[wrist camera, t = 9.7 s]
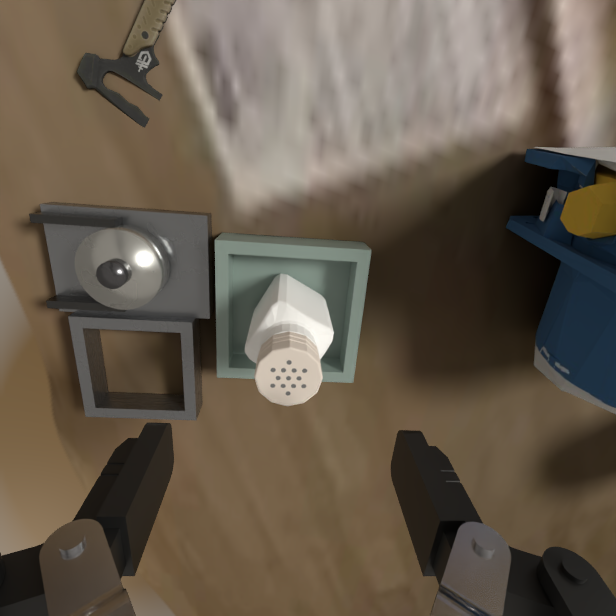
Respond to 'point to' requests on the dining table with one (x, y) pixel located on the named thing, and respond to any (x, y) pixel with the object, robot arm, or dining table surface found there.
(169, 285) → the grey caddy
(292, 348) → the pepper shaker
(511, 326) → the dining table surface
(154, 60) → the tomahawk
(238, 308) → the tray
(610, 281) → the blue boxy device
